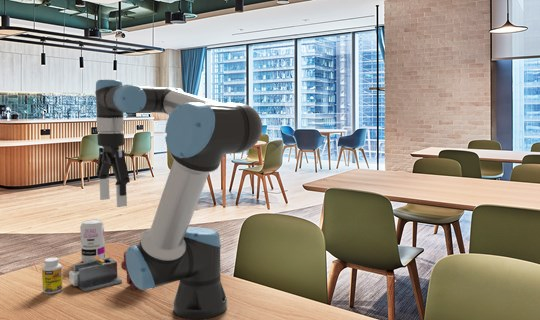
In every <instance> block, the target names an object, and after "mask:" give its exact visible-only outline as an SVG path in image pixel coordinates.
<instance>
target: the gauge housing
mask: <svg viewBox="0 0 540 320" xmlns="http://www.w3.org/2000/svg"><path fill="white" fill-rule="evenodd" d="M102 260H104V261H105V263H103V264H98V262H97V260H93V261H90V262H85V263H84V262H82V263H81V262H80V263H76V264H73V271H78V270H79V283H78V286H77V287H79V288H80V290H82V291H83V292H85V293H86V292H90V291H93V290H98V289H102V288H106V287H109V286H115V285H118V284H119V285H120V284H122V283H123V280H122V279H121V278H120V277H118V262H117V261H116V260H114V259H113V258H112V257H105V258H104V259H102Z"/></svg>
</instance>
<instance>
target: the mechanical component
mask: <svg viewBox="0 0 540 320" xmlns="http://www.w3.org/2000/svg"><path fill="white" fill-rule="evenodd" d="M120 267H121V269H122V270H123V271H126V284H127V285H129V286H131V290H133V291H135V290H138V288H137V287H136V286H135V285H134V283H133V282H132V280H131V278H130V275H129V273H128V269H127V265H126V251H124V252H123V260H122V261H121V263H120Z"/></svg>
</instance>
